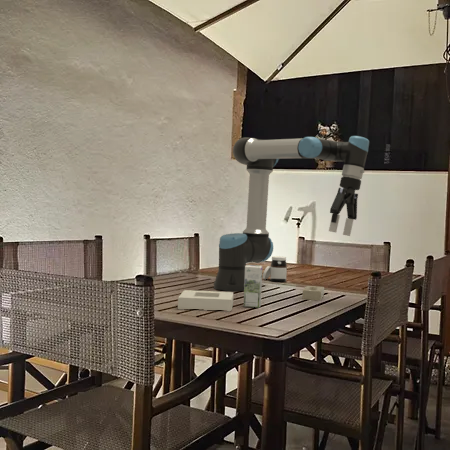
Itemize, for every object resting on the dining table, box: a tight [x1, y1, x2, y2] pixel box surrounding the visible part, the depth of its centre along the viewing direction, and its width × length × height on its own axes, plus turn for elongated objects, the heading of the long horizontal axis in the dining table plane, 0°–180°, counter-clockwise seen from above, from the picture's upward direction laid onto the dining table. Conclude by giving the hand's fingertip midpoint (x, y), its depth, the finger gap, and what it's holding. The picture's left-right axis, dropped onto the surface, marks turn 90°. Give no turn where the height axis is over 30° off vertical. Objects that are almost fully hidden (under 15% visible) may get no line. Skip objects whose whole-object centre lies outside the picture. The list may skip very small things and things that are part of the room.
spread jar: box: [262, 255, 288, 283], centre depth 262 cm, size 12×11×12 cm
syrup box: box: [243, 264, 263, 309], centre depth 193 cm, size 6×6×14 cm
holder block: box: [177, 289, 235, 312], centre depth 191 cm, size 18×16×4 cm
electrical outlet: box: [302, 285, 325, 301], centre depth 220 cm, size 7×4×18 cm
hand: (339, 233), depth 204 cm, fingers open, 13 cm apart
